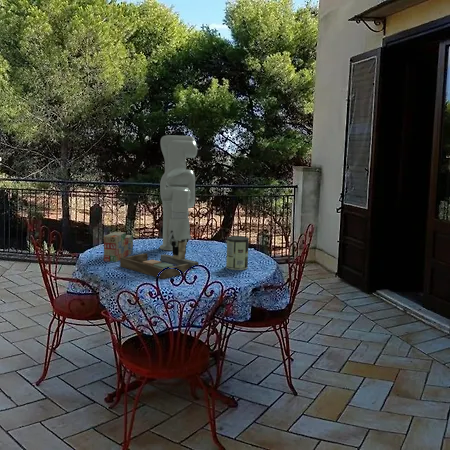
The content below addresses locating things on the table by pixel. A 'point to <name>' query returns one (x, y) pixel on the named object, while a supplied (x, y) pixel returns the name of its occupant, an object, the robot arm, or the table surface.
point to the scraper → (178, 256)
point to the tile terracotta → (151, 262)
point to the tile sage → (163, 265)
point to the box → (149, 266)
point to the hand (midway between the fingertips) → (179, 253)
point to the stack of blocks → (117, 246)
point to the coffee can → (237, 252)
